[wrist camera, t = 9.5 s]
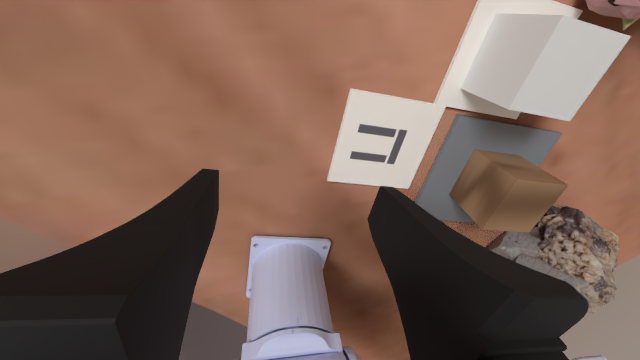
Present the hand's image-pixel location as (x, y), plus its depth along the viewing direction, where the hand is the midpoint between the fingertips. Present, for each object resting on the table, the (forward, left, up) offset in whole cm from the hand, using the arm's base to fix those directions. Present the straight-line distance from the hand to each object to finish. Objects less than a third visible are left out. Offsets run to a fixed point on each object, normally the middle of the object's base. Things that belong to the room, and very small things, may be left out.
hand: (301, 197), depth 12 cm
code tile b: (+7, -15, -10) cm, 19 cm away
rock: (-10, -30, -10) cm, 33 cm away
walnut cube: (-3, -19, -10) cm, 21 cm away
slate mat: (-3, -19, -10) cm, 22 cm away
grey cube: (+7, -15, -10) cm, 19 cm away
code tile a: (-1, -8, -10) cm, 13 cm away
